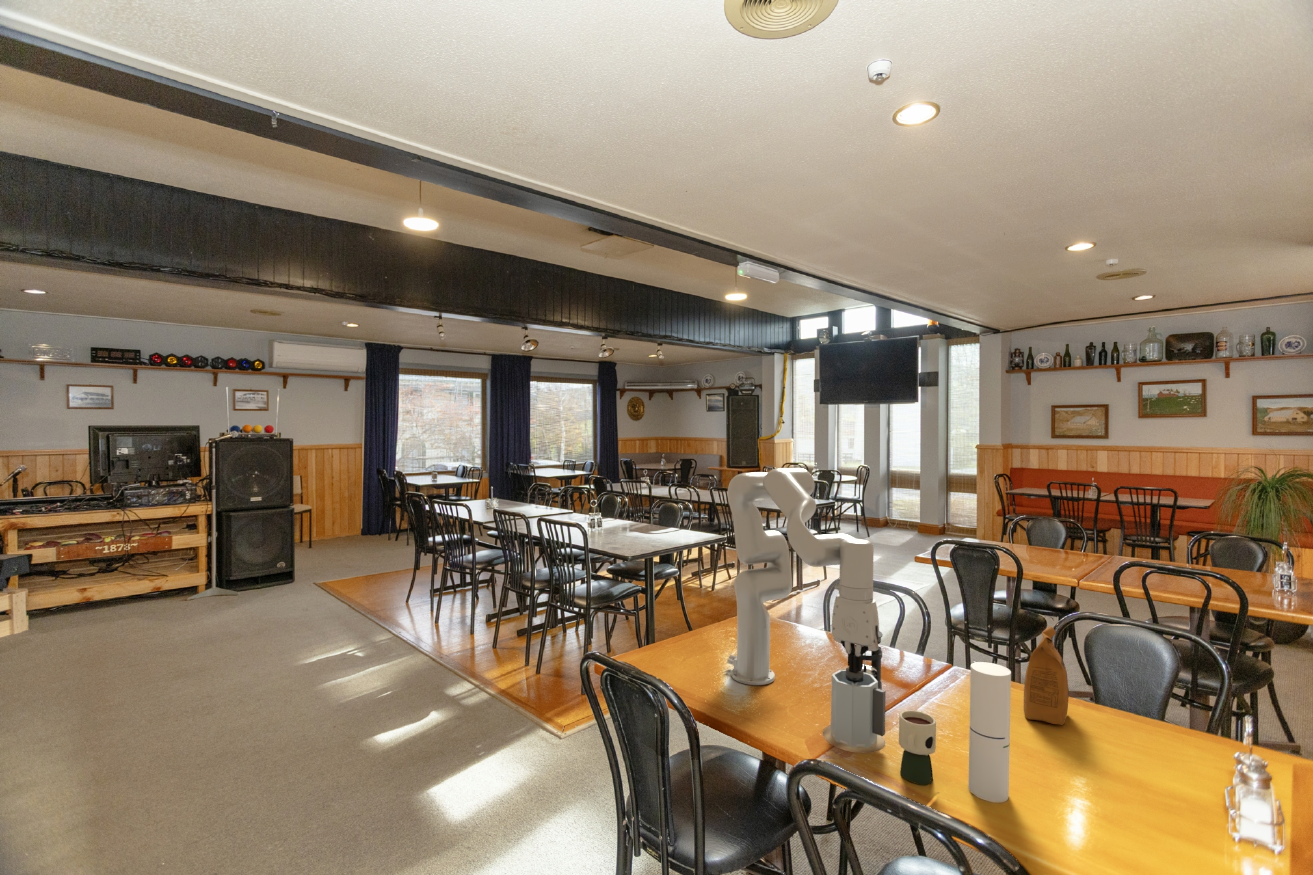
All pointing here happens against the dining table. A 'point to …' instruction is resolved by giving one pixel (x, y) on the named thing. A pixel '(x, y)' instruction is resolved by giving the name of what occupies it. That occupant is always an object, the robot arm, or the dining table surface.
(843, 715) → the carafe
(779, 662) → the dining table surface
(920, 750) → the character mug
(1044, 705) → the coffee package
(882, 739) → the trivet
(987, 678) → the cylindrical container
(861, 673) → the plunger
